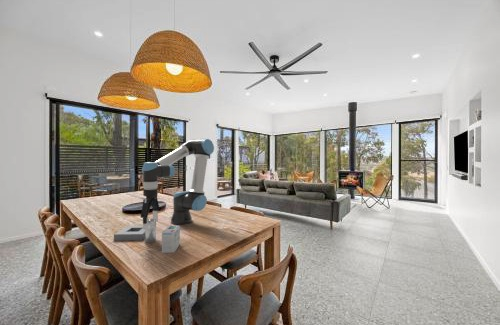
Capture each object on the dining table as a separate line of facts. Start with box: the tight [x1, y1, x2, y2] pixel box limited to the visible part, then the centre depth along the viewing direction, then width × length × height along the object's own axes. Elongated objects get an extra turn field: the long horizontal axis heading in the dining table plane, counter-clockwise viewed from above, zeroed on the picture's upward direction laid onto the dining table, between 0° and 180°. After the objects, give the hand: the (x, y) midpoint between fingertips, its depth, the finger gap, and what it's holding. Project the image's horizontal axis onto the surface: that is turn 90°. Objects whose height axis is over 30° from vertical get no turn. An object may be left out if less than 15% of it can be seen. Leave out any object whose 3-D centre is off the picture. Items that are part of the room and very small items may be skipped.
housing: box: [113, 225, 145, 241], centre depth 128 cm, size 16×16×4 cm
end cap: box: [144, 218, 157, 244], centre depth 120 cm, size 6×6×12 cm
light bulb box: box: [161, 225, 181, 254], centre depth 111 cm, size 11×7×11 cm, turn 5°
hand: (150, 225), depth 120 cm, fingers open, 13 cm apart
